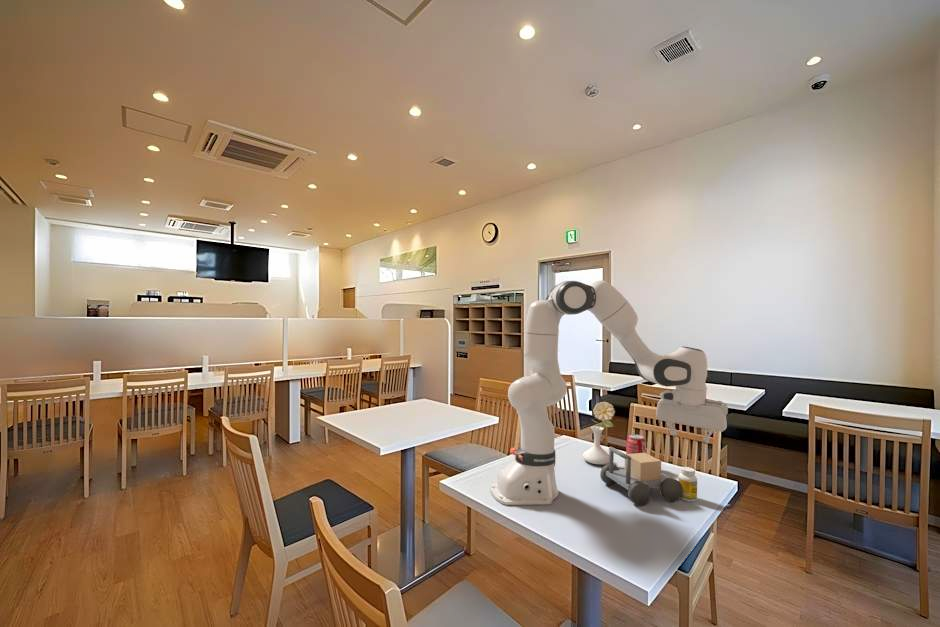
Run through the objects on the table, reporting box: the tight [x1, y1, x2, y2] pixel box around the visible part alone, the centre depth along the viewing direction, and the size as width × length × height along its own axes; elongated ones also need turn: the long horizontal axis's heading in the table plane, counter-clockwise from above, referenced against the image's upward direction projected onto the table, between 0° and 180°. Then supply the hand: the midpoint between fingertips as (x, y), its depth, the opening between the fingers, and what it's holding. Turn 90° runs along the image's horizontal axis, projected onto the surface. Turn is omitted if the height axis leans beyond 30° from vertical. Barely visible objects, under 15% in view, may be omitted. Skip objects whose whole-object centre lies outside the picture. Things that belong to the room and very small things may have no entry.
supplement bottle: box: [678, 466, 698, 502], centre depth 129 cm, size 5×5×10 cm
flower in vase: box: [582, 401, 616, 466], centre depth 160 cm, size 13×11×25 cm
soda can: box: [625, 433, 647, 454], centre depth 156 cm, size 7×7×12 cm
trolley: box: [600, 446, 683, 507], centre depth 133 cm, size 19×17×14 cm
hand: (689, 438), depth 130 cm, fingers open, 8 cm apart
